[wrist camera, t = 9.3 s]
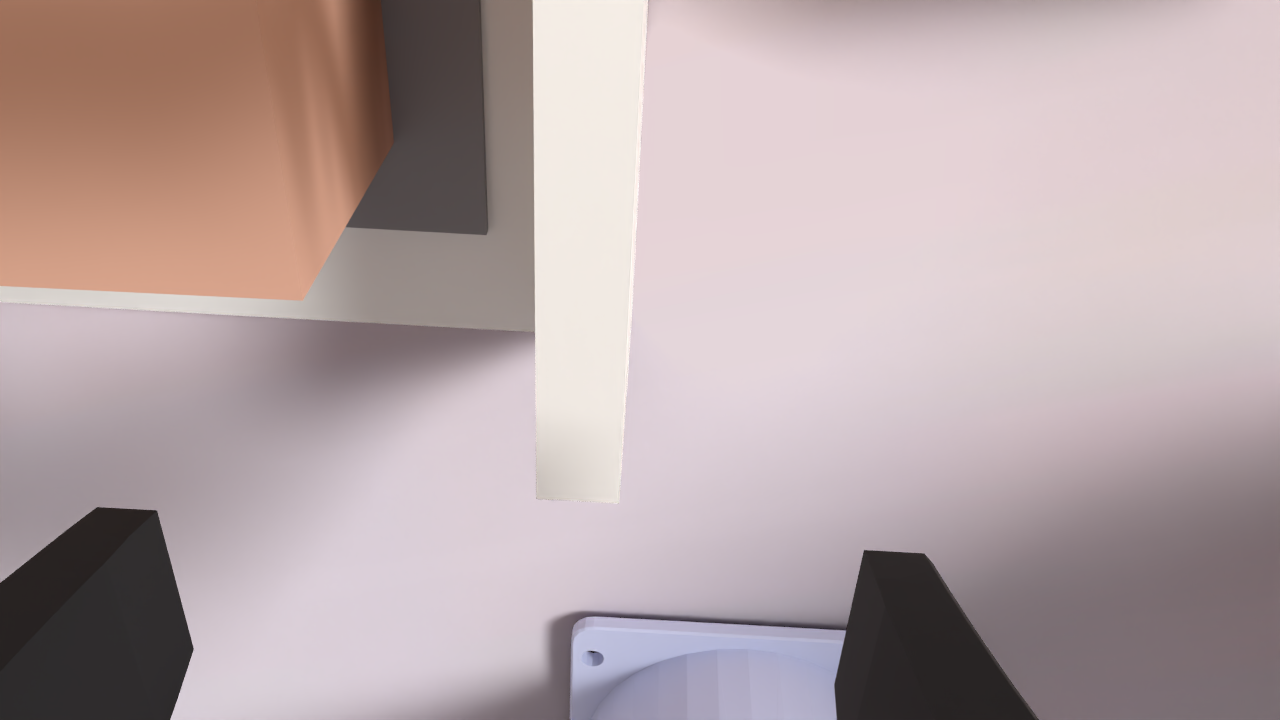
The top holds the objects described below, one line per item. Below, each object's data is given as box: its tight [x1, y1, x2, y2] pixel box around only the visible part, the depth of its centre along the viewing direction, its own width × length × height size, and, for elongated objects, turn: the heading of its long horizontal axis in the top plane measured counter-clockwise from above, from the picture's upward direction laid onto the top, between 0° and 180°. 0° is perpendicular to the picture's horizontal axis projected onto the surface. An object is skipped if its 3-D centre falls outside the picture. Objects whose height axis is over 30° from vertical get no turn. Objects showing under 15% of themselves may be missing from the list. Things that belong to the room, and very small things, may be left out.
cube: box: [0, 0, 394, 301], centre depth 14 cm, size 5×5×5 cm
